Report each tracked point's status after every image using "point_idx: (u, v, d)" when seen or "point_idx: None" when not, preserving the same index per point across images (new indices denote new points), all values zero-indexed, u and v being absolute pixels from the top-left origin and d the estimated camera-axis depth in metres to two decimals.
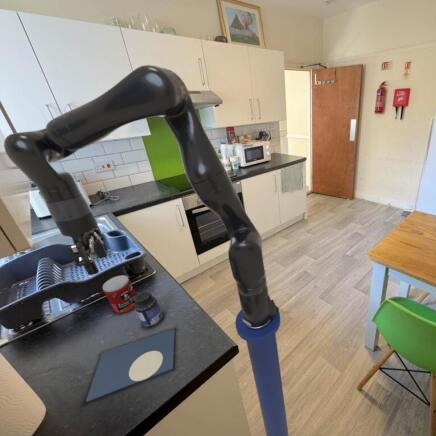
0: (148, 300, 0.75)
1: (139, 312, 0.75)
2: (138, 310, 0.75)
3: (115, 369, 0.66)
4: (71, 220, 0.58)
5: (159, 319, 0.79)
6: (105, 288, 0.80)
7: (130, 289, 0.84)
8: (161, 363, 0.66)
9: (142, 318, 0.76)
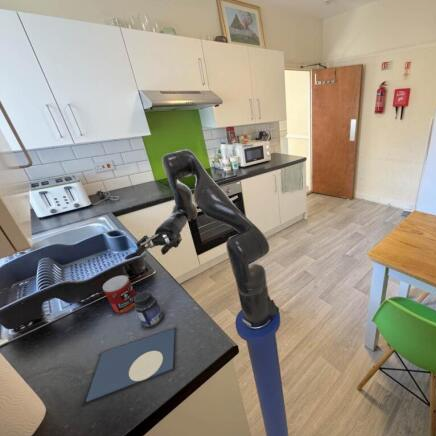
0: (148, 300, 0.75)
1: (139, 312, 0.75)
2: (138, 310, 0.75)
3: (115, 369, 0.66)
4: None
5: (159, 319, 0.79)
6: (105, 288, 0.80)
7: (130, 289, 0.84)
8: (161, 363, 0.66)
9: (142, 318, 0.76)
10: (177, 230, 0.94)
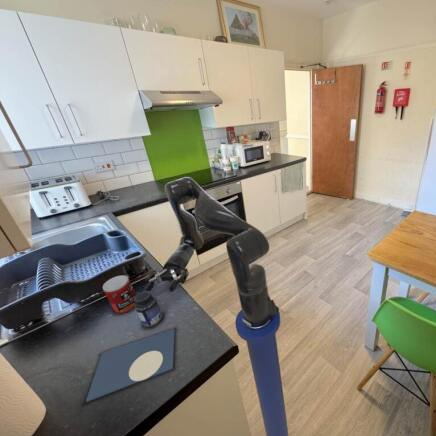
0: (148, 300, 0.75)
1: (139, 312, 0.75)
2: (138, 310, 0.75)
3: (115, 369, 0.66)
4: None
5: (159, 319, 0.79)
6: (105, 288, 0.80)
7: (130, 289, 0.84)
8: (161, 363, 0.66)
9: (142, 318, 0.76)
10: (184, 264, 0.97)
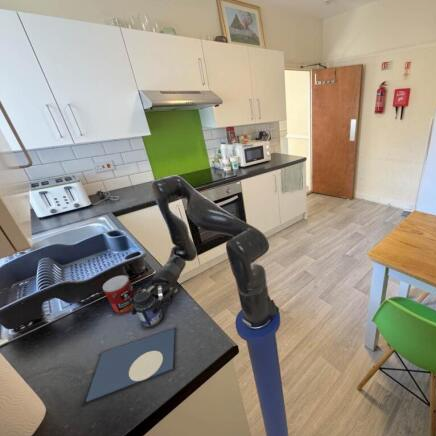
0: (148, 300, 0.75)
1: (139, 312, 0.75)
2: (138, 310, 0.75)
3: (115, 369, 0.66)
4: None
5: (159, 319, 0.79)
6: (105, 288, 0.80)
7: (130, 289, 0.84)
8: (161, 363, 0.66)
9: (142, 318, 0.76)
10: (174, 279, 0.89)
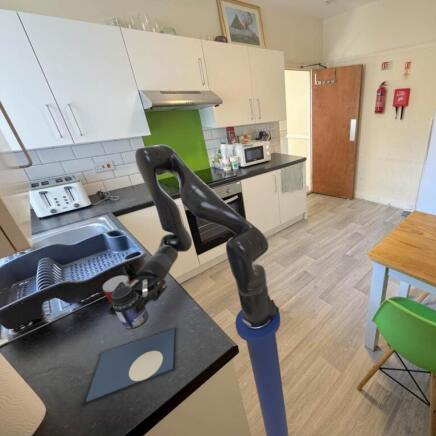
0: (129, 297, 0.61)
1: (117, 311, 0.61)
2: (116, 309, 0.61)
3: (115, 369, 0.66)
4: None
5: (143, 320, 0.65)
6: (105, 288, 0.80)
7: None
8: (161, 363, 0.66)
9: (122, 319, 0.62)
10: (163, 272, 0.75)
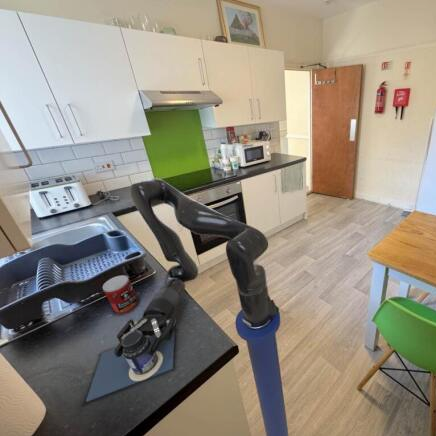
0: (139, 343, 0.61)
1: (128, 358, 0.60)
2: (126, 356, 0.60)
3: (115, 369, 0.66)
4: None
5: (153, 364, 0.65)
6: (105, 288, 0.80)
7: (130, 289, 0.84)
8: (161, 363, 0.66)
9: (132, 365, 0.62)
10: (171, 308, 0.74)
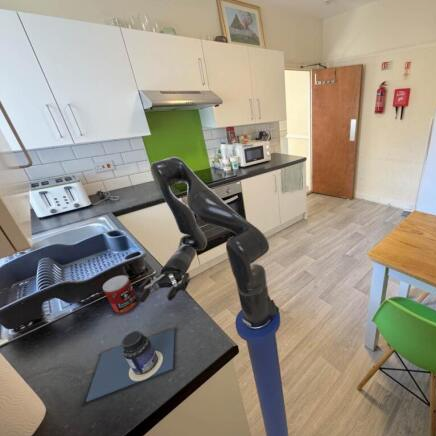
0: (139, 343, 0.61)
1: (128, 358, 0.60)
2: (126, 356, 0.60)
3: (115, 369, 0.66)
4: None
5: (153, 364, 0.65)
6: (105, 288, 0.80)
7: (130, 289, 0.84)
8: (161, 363, 0.66)
9: (132, 365, 0.62)
10: (185, 267, 0.84)
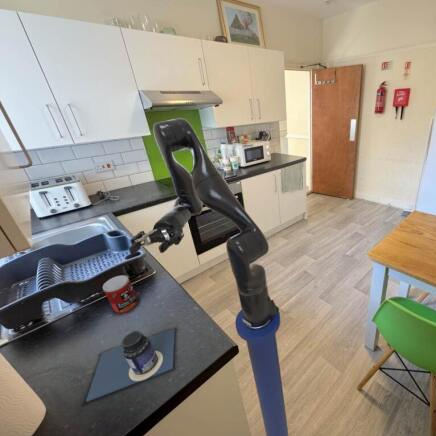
0: (139, 343, 0.61)
1: (128, 358, 0.60)
2: (126, 356, 0.60)
3: (115, 369, 0.66)
4: None
5: (153, 364, 0.65)
6: (105, 288, 0.80)
7: (130, 289, 0.84)
8: (161, 363, 0.66)
9: (132, 365, 0.62)
10: (179, 225, 0.81)
